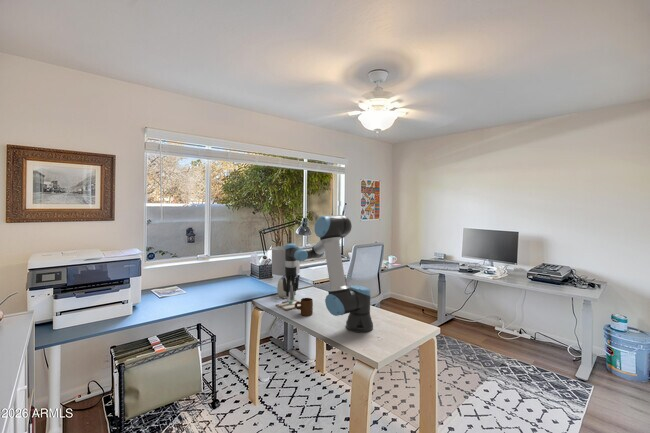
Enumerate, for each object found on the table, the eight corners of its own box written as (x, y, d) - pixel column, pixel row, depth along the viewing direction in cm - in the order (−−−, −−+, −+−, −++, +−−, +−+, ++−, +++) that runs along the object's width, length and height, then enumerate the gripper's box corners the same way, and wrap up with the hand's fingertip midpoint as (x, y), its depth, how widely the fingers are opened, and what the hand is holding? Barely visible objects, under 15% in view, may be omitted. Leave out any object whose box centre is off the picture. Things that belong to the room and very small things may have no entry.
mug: (297, 318, 190) (297, 303, 189) (292, 314, 196) (292, 299, 196) (314, 315, 196) (314, 300, 195) (309, 311, 202) (309, 296, 202)
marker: (291, 301, 216) (291, 284, 215) (293, 302, 213) (293, 285, 213) (287, 302, 214) (287, 285, 213) (290, 303, 212) (290, 286, 211)
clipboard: (306, 305, 213) (306, 303, 212) (285, 311, 202) (285, 308, 202) (295, 300, 223) (295, 298, 222) (275, 305, 212) (275, 303, 212)
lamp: (301, 292, 241) (301, 245, 239) (296, 301, 221) (296, 249, 219) (276, 292, 243) (275, 244, 241) (268, 300, 223) (268, 249, 221)
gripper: (297, 264, 220) (297, 296, 221) (277, 267, 210) (277, 301, 211) (303, 265, 214) (303, 299, 216) (283, 269, 204) (283, 304, 206)
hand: (290, 300), depth 214 cm, fingers closed on marker, 3 cm apart
